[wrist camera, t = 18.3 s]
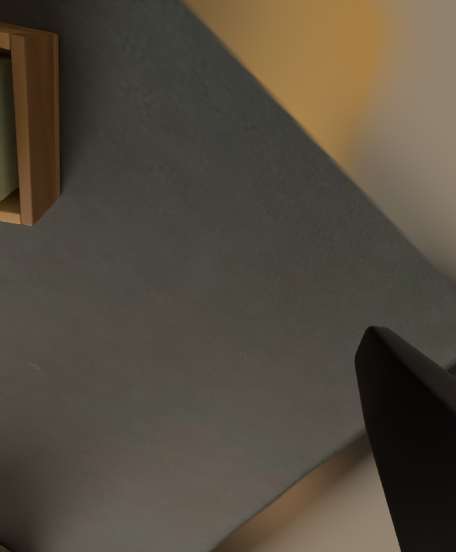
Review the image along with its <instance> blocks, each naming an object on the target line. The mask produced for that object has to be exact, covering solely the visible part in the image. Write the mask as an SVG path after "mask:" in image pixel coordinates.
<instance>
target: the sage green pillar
mask: <svg viewBox="0 0 456 552" xmlns="http://www.w3.org/2000/svg"><path fill="white" fill-rule="evenodd" d="M17 187H19V174H18V158H17V141H16V125H15V109H14V93H13V76H12V60H11V55H9V54H3V53H0V201H1V200H3V199H4V198H5V197H6V196H8V195H9V194H10V193H11V192H13V191H14V190H15V189H16V188H17Z"/></svg>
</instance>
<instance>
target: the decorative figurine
mask: <svg viewBox="0 0 456 552" xmlns="http://www.w3.org/2000/svg"><path fill="white" fill-rule="evenodd" d="M0 552H12V551H9V550H8V549H6V548H5V547H3V546H2V545H0Z"/></svg>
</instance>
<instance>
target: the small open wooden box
mask: <svg viewBox="0 0 456 552" xmlns="http://www.w3.org/2000/svg"><path fill="white" fill-rule="evenodd" d="M0 53H3V54H9V55H11V60H12V76H13V93H14V109H15V125H16V141H17V158H18V174H19V187H17V188H16V189H15V190H14V191H13V192H11V193H10V194H9V195H8V196H6V197H5V198H4V199H3V200H1V201H0V221H5V222H11V223H17V224H21V223H22V224H23V225H29V226H33V225H34V224H35V223H36V222H37V221H38V220H39V219H40V218H41V217H42V216H43V215H44V213H45V212H46V211H47V210H48V209H49V208H50V207H51V206H52V205H53V204H54V203H55V202H56V200H57V199H58V198H59V197H60V141H59V54H58V34H56V33H51V32H47V31H42V30H37V29H32V28H27V27H22V26H18V25H13V24H8V23H3V22H0Z"/></svg>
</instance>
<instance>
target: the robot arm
mask: <svg viewBox="0 0 456 552" xmlns="http://www.w3.org/2000/svg"><path fill="white" fill-rule="evenodd" d="M355 369H356V375H357V381H358V387H359V393H360V399H361V405H362V411H363V417H364V422H365V427H366V430H367V434H368V438H369V441H370V445H371V448H372V452H373V455H374V459H375V462H376V466H377V469H378V473H379V476H380V480H381V483H382V487H383V490H384V493H385V497H386V501H387V504H388V507H389V511H390V515H391V518H392V521H393V525H394V528H395V532H396V536H397V539H398V542H399V546H400V549H401V552H456V378H455V377H454V376H452V375H451V374H450V373H448V372H447V371H446V370H444V369H443V368H441V367H440V366H439V365H437V364H436V363H435V362H433V361H432V360H431V359H429V358H428V357H427V356H425V355H424V354H422V353H421V352H420V351H418V350H417V349H416V348H414V347H413V346H412V345H410V344H409V343H408V342H406V341H405V340H403V339H402V338H401V337H399V336H398V335H397V334H395V333H394V332H393V331H391V330H390V329H388V328H385V327H377V326H370V327H368V328H367V329H366V331H365V333H364V335H363V338H362V340H361V342H360V345H359V347H358V350H357V352H356V355H355Z"/></svg>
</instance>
